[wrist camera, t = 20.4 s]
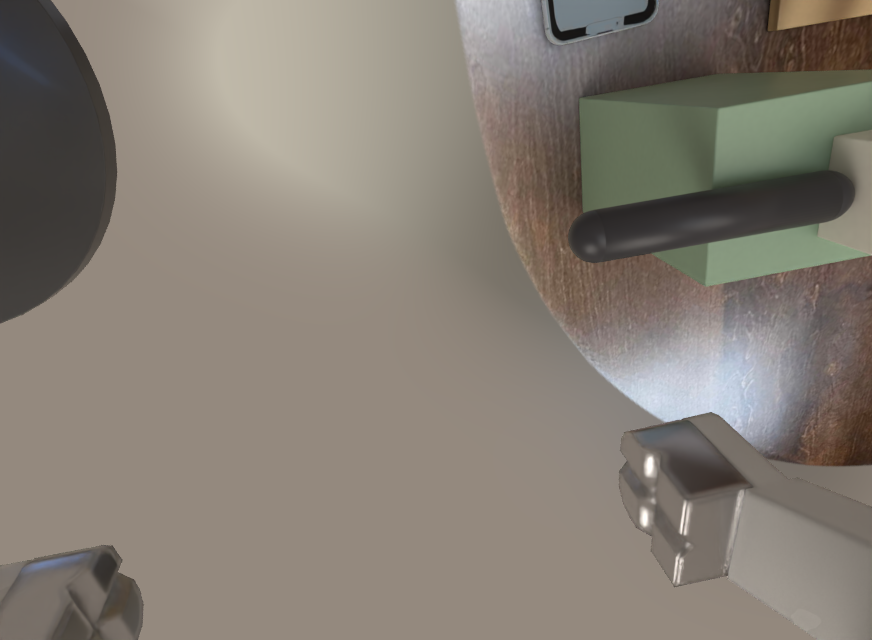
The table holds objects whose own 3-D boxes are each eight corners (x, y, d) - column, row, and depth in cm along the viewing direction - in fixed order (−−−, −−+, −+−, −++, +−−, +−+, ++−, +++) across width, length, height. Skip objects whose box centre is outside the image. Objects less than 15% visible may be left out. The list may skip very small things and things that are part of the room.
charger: (563, 281, 24) (592, 312, 21) (558, 182, 22) (590, 199, 19) (941, 214, 25) (1025, 233, 22) (969, 112, 23) (1065, 117, 20)
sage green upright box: (582, 212, 39) (705, 287, 25) (578, 97, 36) (718, 107, 21) (714, 188, 40) (911, 248, 25) (722, 72, 36) (955, 66, 22)
